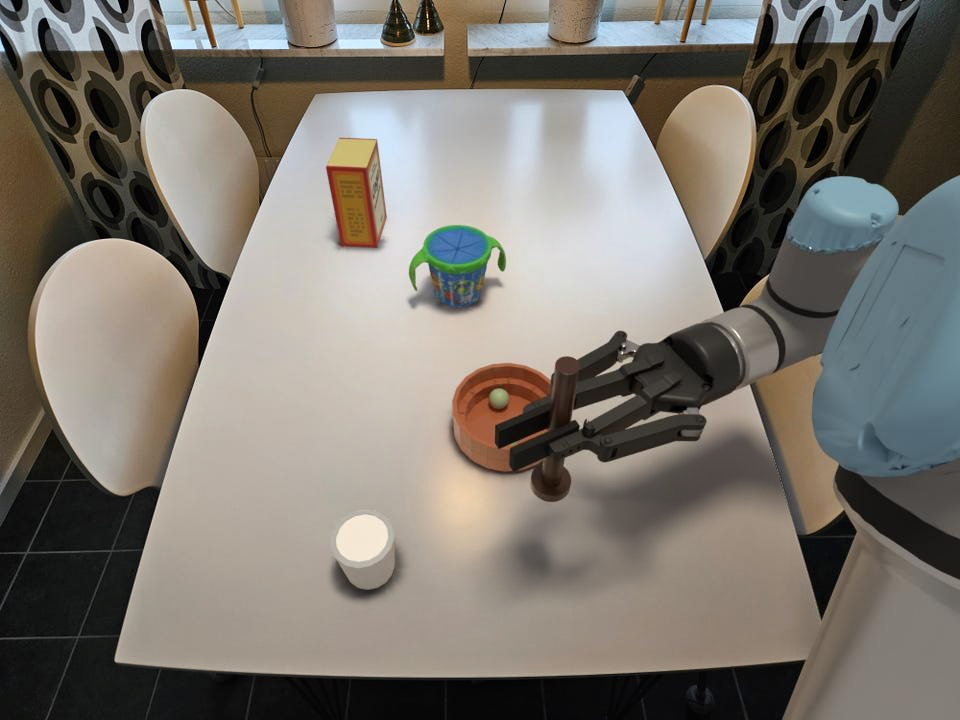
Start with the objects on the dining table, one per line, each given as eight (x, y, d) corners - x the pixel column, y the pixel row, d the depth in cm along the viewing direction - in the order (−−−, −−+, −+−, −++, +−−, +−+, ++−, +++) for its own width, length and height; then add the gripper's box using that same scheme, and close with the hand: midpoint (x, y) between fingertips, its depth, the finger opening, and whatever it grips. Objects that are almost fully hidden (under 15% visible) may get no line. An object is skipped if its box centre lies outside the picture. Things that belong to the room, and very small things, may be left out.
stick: (559, 509, 63) (579, 391, 50) (523, 490, 65) (534, 371, 51) (576, 478, 66) (600, 358, 52) (541, 461, 67) (556, 340, 54)
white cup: (375, 527, 77) (367, 497, 72) (412, 566, 74) (407, 537, 69) (328, 565, 74) (316, 536, 69) (365, 607, 71) (355, 580, 66)
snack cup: (496, 267, 111) (498, 217, 103) (513, 308, 104) (515, 257, 96) (406, 281, 108) (401, 231, 101) (417, 323, 101) (412, 273, 94)
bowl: (528, 491, 81) (530, 467, 77) (433, 444, 86) (431, 419, 82) (576, 414, 89) (580, 388, 85) (487, 375, 94) (487, 349, 90)
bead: (502, 415, 88) (503, 403, 86) (484, 407, 89) (485, 394, 87) (512, 402, 90) (513, 389, 88) (495, 394, 91) (495, 381, 89)
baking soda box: (352, 215, 121) (338, 135, 109) (386, 216, 121) (376, 137, 109) (341, 246, 115) (325, 165, 103) (377, 247, 114) (365, 166, 103)
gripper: (758, 435, 61) (545, 540, 54) (659, 335, 70) (466, 413, 63) (785, 384, 56) (553, 493, 49) (674, 283, 65) (465, 362, 58)
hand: (504, 448), depth 56 cm, fingers closed on stick, 2 cm apart
